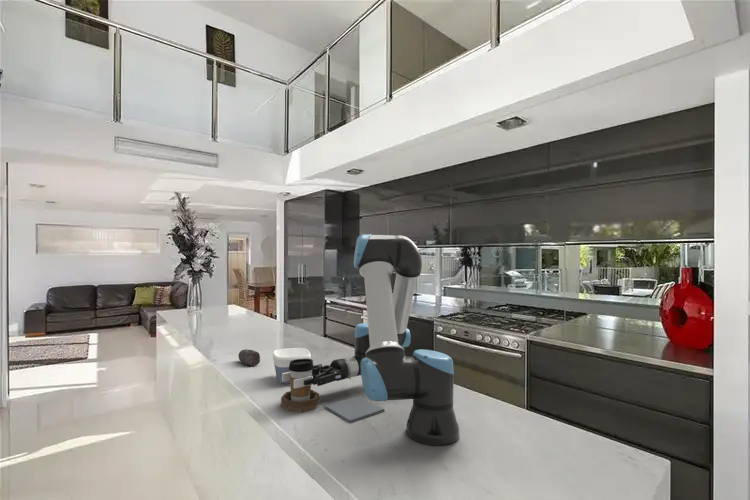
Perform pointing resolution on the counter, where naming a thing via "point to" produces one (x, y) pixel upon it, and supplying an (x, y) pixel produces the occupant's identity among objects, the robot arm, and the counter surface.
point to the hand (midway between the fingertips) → (288, 380)
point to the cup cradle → (299, 402)
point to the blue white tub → (287, 360)
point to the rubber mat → (354, 409)
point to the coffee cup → (300, 370)
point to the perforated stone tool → (249, 357)
